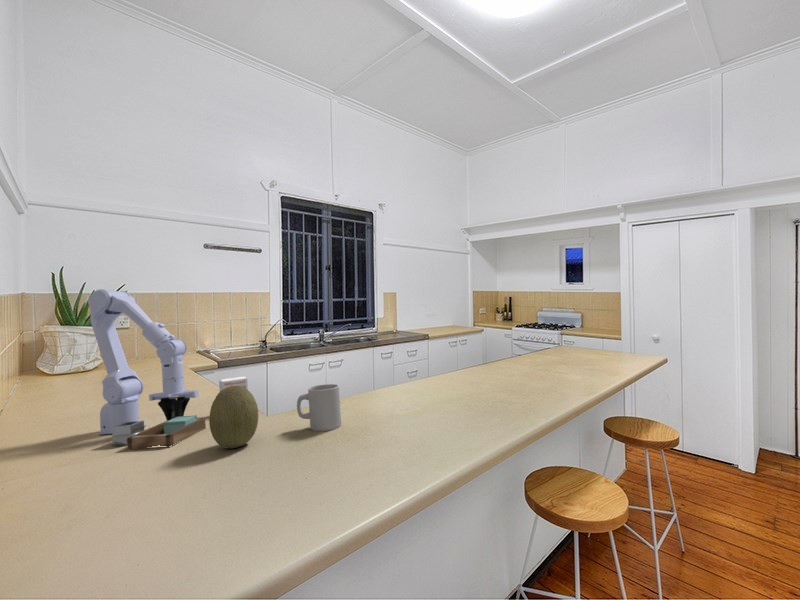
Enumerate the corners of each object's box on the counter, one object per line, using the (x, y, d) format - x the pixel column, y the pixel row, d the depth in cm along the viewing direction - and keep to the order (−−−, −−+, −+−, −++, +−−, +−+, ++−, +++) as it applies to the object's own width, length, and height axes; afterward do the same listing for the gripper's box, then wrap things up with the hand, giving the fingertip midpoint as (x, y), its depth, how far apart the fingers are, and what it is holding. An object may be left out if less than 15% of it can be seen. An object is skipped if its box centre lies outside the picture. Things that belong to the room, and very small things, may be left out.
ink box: (222, 416, 124) (220, 381, 125) (220, 413, 128) (218, 379, 129) (249, 411, 129) (247, 377, 130) (246, 408, 133) (244, 375, 134)
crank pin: (169, 428, 114) (168, 410, 114) (174, 426, 116) (173, 408, 117) (176, 427, 114) (175, 409, 114) (181, 425, 116) (180, 407, 116)
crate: (163, 437, 105) (163, 422, 106) (177, 430, 112) (176, 416, 112) (185, 435, 105) (184, 421, 106) (197, 429, 112) (196, 415, 112)
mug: (343, 421, 108) (340, 383, 108) (339, 430, 99) (336, 388, 100) (302, 424, 108) (299, 386, 108) (294, 433, 99) (291, 392, 100)
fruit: (212, 444, 95) (209, 385, 96) (259, 435, 100) (255, 379, 100) (208, 458, 85) (205, 392, 85) (261, 448, 89) (257, 385, 90)
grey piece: (106, 447, 99) (105, 428, 99) (126, 438, 106) (126, 420, 106) (131, 445, 99) (131, 426, 99) (150, 437, 106) (149, 419, 106)
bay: (127, 449, 96) (127, 437, 96) (168, 430, 112) (168, 420, 112) (170, 447, 95) (170, 435, 95) (205, 428, 111) (205, 417, 111)
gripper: (141, 382, 112) (143, 427, 111) (187, 378, 112) (190, 424, 111) (157, 378, 119) (159, 420, 119) (201, 375, 119) (203, 417, 118)
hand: (175, 422), depth 115 cm, fingers closed on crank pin, 2 cm apart
